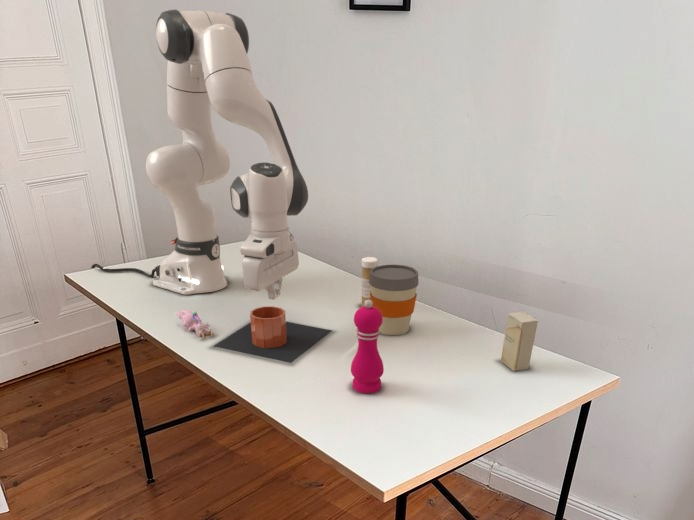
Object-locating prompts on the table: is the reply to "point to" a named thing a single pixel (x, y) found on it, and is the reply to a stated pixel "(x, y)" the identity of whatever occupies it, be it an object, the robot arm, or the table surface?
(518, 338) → the cosmetic box
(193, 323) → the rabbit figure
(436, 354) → the table surface
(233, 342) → the mat
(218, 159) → the robot arm
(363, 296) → the spice jar
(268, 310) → the cup
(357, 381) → the pepper mill
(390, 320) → the reusable coffee cup
